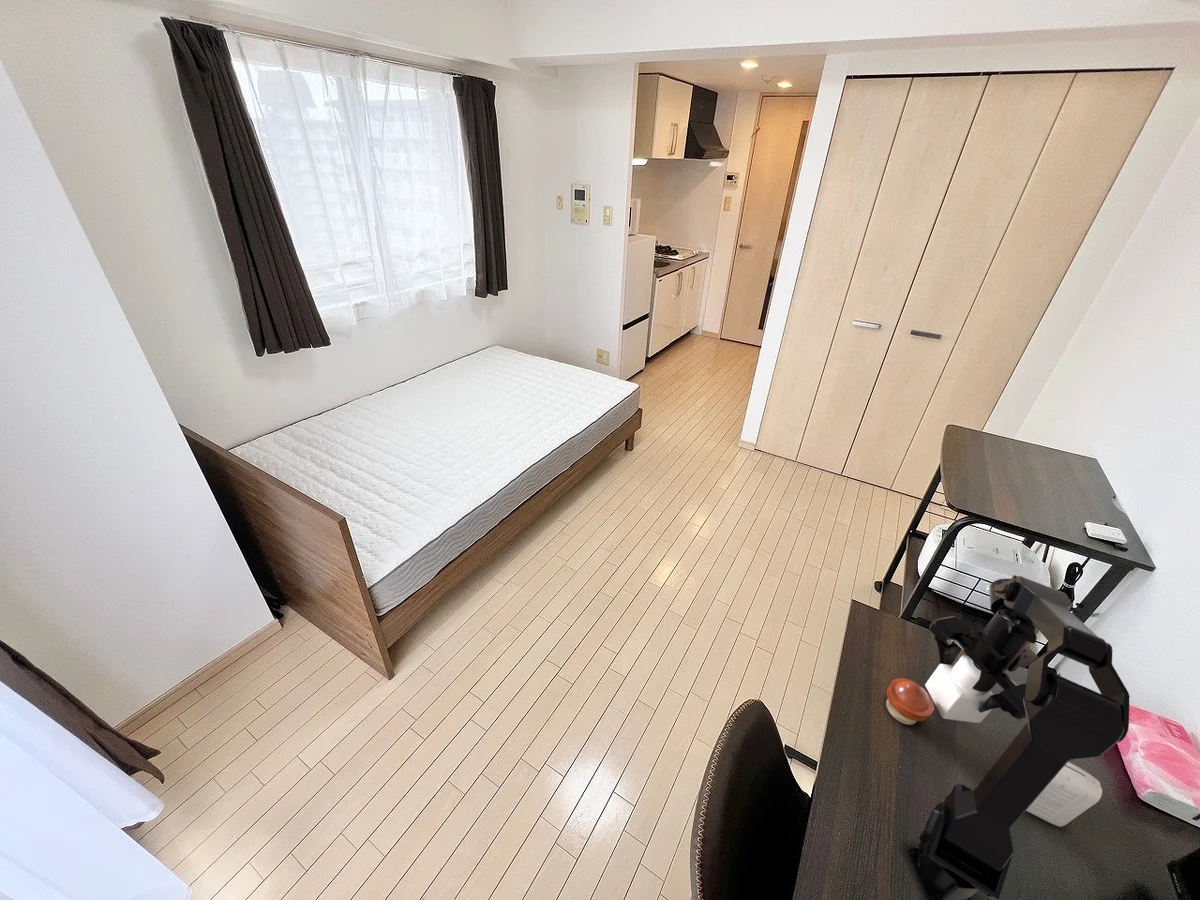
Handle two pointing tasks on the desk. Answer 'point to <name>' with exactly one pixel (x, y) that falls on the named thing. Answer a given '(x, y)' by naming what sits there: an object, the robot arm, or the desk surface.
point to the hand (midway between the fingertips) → (961, 690)
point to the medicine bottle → (960, 690)
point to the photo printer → (1066, 796)
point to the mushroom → (908, 701)
